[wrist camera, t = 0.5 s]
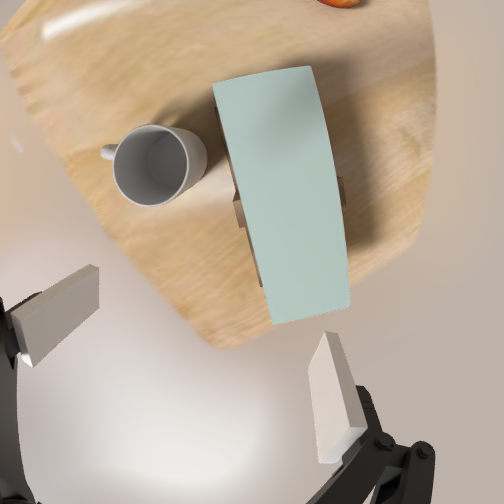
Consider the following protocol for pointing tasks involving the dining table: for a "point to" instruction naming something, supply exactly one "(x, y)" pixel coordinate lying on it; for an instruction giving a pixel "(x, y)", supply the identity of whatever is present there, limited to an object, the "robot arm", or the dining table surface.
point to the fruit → (340, 3)
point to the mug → (156, 163)
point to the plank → (287, 189)
